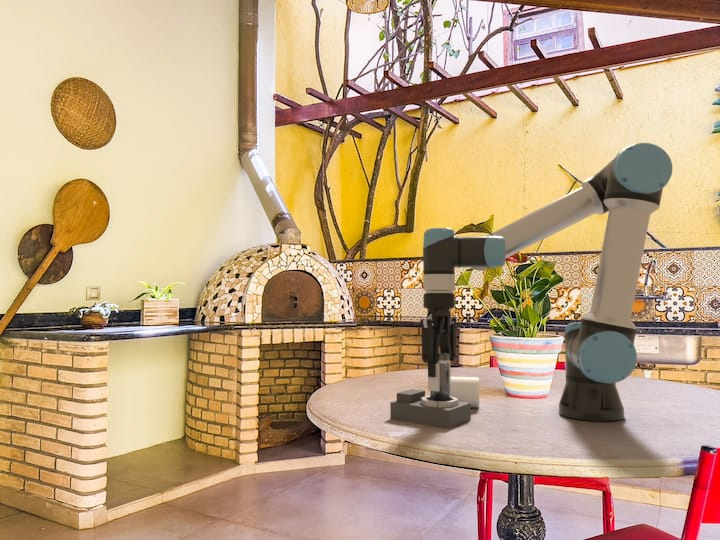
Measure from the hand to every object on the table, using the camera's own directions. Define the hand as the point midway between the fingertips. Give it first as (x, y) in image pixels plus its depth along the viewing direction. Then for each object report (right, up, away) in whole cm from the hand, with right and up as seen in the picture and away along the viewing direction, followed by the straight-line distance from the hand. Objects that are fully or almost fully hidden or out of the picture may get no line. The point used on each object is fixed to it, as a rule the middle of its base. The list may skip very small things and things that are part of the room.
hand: (439, 389), depth 135 cm
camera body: (-2, -8, +1) cm, 8 cm away
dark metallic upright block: (0, -4, 0) cm, 4 cm away
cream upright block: (+8, -9, +18) cm, 22 cm away
